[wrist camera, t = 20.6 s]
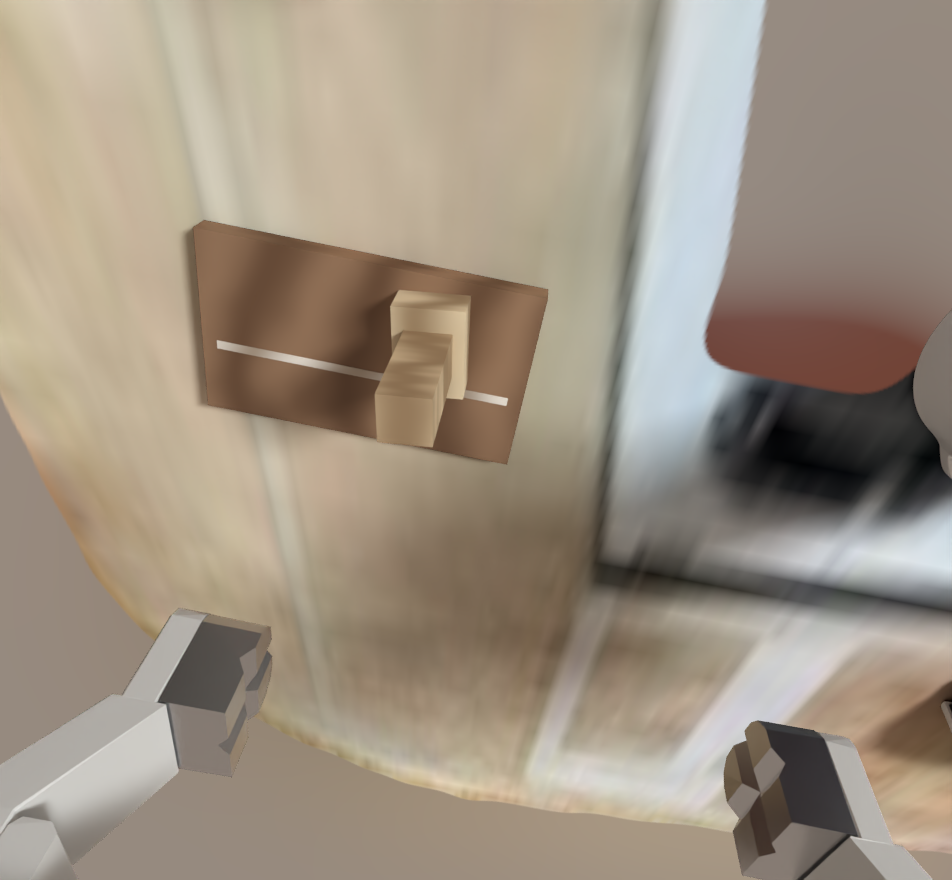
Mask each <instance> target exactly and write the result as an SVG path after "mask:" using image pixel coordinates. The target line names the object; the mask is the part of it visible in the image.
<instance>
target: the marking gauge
mask: <svg viewBox="0 0 952 880" xmlns="http://www.w3.org/2000/svg"><path fill="white" fill-rule="evenodd" d="M470 303H471V296H468V295H456V294H443V293H431V292H419V291H406V290H399V291H398V292H397V294H396V296H395V298H394V300H393V302H392V304H391V306H390V311H391V339H392V357H391V359H390V361H389V363H388V366H387V368H386V370H385V372H384V374H383V377H382V379H381V381H380V383H379V385H378V388H377V390H376V392H375V410H376V429H377V442H382V443H392V444H403V445H413V446H424V447H433V444H434V440H435V437H436V433H437V430H438V426H439V422H440V419H441V415H442V412H443V408H444V404H445V401H446V398H450V399H461V400H463V397H464V393H465V389H466V385H467V380H468V355H469V329H470Z"/></svg>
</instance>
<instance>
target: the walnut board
mask: <svg viewBox="0 0 952 880" xmlns="http://www.w3.org/2000/svg"><path fill="white" fill-rule="evenodd" d="M193 232H194V244H195V256H196V267H197V279H198V291H199V303H200V315H201V327H202V338H203V350H204V362H205V374H206V386H207V398H208V405H211V406H216V407H221V408H226V409H231V410H236V411H241V412H246V413H251V414H256V415H261V416H266V417H271V418H276V419H281V420H286V421H291V422H296V423H301V424H306V425H311V426H316V427H321V428H326V429H331V430H336V431H341V432H346V433H352V434H357V435H362V436H367V437H372V438H377V429H376V410H375V392H376V390H377V388H378V385H379V383H380V381H381V379H382V377H383V374H384V372H385V370H386V368H387V366H388V363H389V361H390V359H391V357H392V339H391V311H390V306H391V304H392V302H393V300H394V298H395V296H396V294H397V292H398V291H399V290H406V291H419V292H431V293H443V294H456V295H468V296H471V303H470V329H469V355H468V380H467V385H466V389H465V393H464V397H463V400H461V399H450V398H446V401H445V404H444V408H443V412H442V415H441V419H440V422H439V426H438V430H437V433H436V437H435V440H434V444H433V447H424V446H417V447H422V448H427V449H432V450H437V451H442V452H447V453H452V454H457V455H462V456H467V457H472V458H477V459H482V460H487V461H492V462H497V463H502V464H507V462H508V458H509V454H510V450H511V446H512V442H513V438H514V434H515V430H516V426H517V422H518V418H519V414H520V410H521V406H522V401H523V397H524V393H525V389H526V385H527V381H528V377H529V373H530V369H531V365H532V361H533V357H534V353H535V349H536V345H537V340H538V336H539V332H540V328H541V324H542V320H543V316H544V312H545V308H546V304H547V300H548V289H543V288H538V287H533V286H528V285H523V284H518V283H513V282H508V281H503V280H498V279H494V278H489V277H484V276H479V275H474V274H469V273H464V272H459V271H454V270H449V269H444V268H439V267H434V266H429V265H424V264H419V263H414V262H409V261H404V260H399V259H394V258H389V257H384V256H379V255H374V254H369V253H364V252H359V251H355V250H350V249H345V248H340V247H335V246H330V245H325V244H320V243H315V242H310V241H305V240H300V239H295V238H290V237H285V236H280V235H275V234H270V233H265V232H260V231H255V230H250V229H245V228H240V227H235V226H230V225H225V224H221V223H216V222H211V221H206V220H204V221H202V222H201V223H199V224H198V225H196V226H195V227H193ZM412 446H413V445H412Z"/></svg>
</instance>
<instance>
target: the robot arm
mask: <svg viewBox="0 0 952 880" xmlns="http://www.w3.org/2000/svg"><path fill="white" fill-rule="evenodd" d="M913 395H914V401H915V405H916V409H917V411H918V414H919V416H920V418H921V419H922V421H923V422H924V424H925V425H926V426H927V428H928V429H929V430H930V431H931V432H932V434H933V435H934V436H935V437H936V439H937V440H938V442H939V445H940V459H941V465H942V469H943V470H944V472H945V473H946V474H947V475H948V476H949V477H950V478H951V479H952V310H951V311H950V312H949V313H948V314H947V315H946V316H945V317H944V319H943V320H942V321H941V322H940V323H939V325H938V326H937V327H936V329H935V330H934V332H933V333H932V335H931V336H930V338H929V340H928V341H927V343H926V344H925V347H924V349H923V350H922V353H921V355H920V358H919V360H918V363H917V366H916V370H915V375H914V382H913ZM271 640H272V638H271V627H269V626H264V625H259V624H255V623H250V622H245V621H240V620H235V619H231V618H226V617H221V616H216V615H211V614H208V613H203V612H198V611H193V610H187V609H182V608H178V609H177V610H176V611H175V612H174V613H173V614H172V615H171V616H170V617H169V619H168V620H167V622H166V624H165V625H164V627H163V629H162V630H161V632H160V633H159V635H158V637H157V638H156V640H155V642H154V643H153V645H152V646H151V648H150V650H149V651H148V653H147V655H146V656H145V658H144V659H143V661H142V663H141V664H140V666H139V668H138V669H137V671H136V672H135V674H134V676H133V677H132V679H131V680H130V682H129V684H128V685H127V687H126V689H125V690H124V692H123V694H122V695H117V694H111V695H110V696H108V697H106V698H105V699H103V700H102V701H100V702H98V703H97V704H95V705H94V706H92V707H91V708H89V709H87V710H86V711H84V712H83V713H81V714H79V715H78V716H77V717H75V718H73V719H72V720H70V721H68V722H67V723H65V724H64V725H62V726H61V727H59V728H57V729H56V730H54V731H53V732H51V733H50V734H48V735H46V736H45V737H43V738H42V739H40V740H39V741H37V742H35V743H34V744H32V745H31V746H29V747H28V748H26V749H25V750H23V751H21V752H20V753H18V754H16V755H15V756H13V757H12V758H10V759H9V760H7V761H6V762H4V763H2V764H1V765H0V880H79V878H78V876H77V874H76V872H75V870H74V868H73V865H74V864H75V863H76V862H77V861H78V860H80V859H81V858H82V857H83V856H84V855H85V854H86V853H87V852H89V851H90V850H91V849H92V848H93V847H94V846H95V845H97V844H98V843H99V842H100V841H101V840H102V839H103V838H105V837H106V836H107V835H108V834H109V833H110V832H111V831H112V830H114V829H115V828H116V827H117V826H118V825H119V824H120V823H122V822H123V821H124V820H125V819H126V818H127V817H128V816H129V815H131V814H132V813H133V812H134V811H135V810H136V809H137V808H139V807H140V806H141V805H142V804H143V803H144V802H145V801H146V800H148V799H149V798H150V797H151V796H152V795H153V794H154V793H155V792H156V791H158V790H159V789H160V788H161V787H162V786H163V785H164V784H166V783H167V782H168V781H169V780H170V779H171V778H172V777H174V776H175V775H176V774H177V773H178V772H179V770H178V768H179V769H185V770H192V771H198V772H204V773H210V774H216V775H222V776H228V777H232V775H233V773H234V771H235V768H236V766H237V763H238V761H239V759H240V756H241V754H242V752H243V749H244V747H245V744H246V742H247V740H248V722H247V721H248V720H249V719H250V718H252V717H253V716H254V715H256V714H257V713H258V712H259V711H260V708H261V706H262V703H263V700H264V698H265V695H266V692H267V688H268V685H269V681H270V677H271V670H272V655H271V654H270V653H269V652H268V651H267V649H268V647H269V644H270V642H271ZM745 735H746V740H747V741H744V742H742V743H739V744H736V745H734V746H733V748H732V749H731V751H730V752H729V754H728V756H727V758H726V763H725V768H724V789H725V794H726V799H727V803H728V804H729V806H730V807H731V808H732V810H733V811H734V812H735V814H736V815H737V816H738V818H739V820H738V822H737V824H736V826H735V828H734V830H733V834H734V838H735V844H736V849H737V853H738V858H739V863H740V868H741V872H742V875H744V876H749V877H753V878H757V879H762V880H933V879H932V878H931V877H930V876H929V875H928V874H927V873H926V872H925V870H924V869H923V868H922V867H921V866H920V865H919V864H918V863H917V861H916V860H915V859H914V858H913V857H912V856H911V855H910V854H909V853H908V851H907V850H906V849H905V848H904V847H903V846H900V845H896V844H893V841H892V839H891V836H890V834H889V831H888V829H887V826H886V824H885V821H884V818H883V816H882V813H881V811H880V808H879V806H878V803H877V801H876V798H875V795H874V793H873V790H872V788H871V785H870V783H869V780H868V778H867V775H866V772H865V770H864V767H863V765H862V762H861V760H860V757H859V754H858V752H857V749H856V747H855V745H854V744H853V743H852V742H851V740H850V739H848V738H846V737H843V736H837V735H832V734H826V733H820V732H815V731H814V730H809V729H803V728H798V727H792V726H786V725H781V724H775V723H769V722H764V721H755V722H751V723H750V724H749V726H748V727H747V728H746V730H745Z"/></svg>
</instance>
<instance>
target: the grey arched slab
mask: <svg viewBox="0 0 952 880" xmlns="http://www.w3.org/2000/svg"><path fill="white" fill-rule="evenodd" d="M941 708H942V711H943V713H944V715H945V718H946V720H947V723H948V725H949V727H950V730H951V732H952V702H946V701H944V702H943V703H942V704H941Z"/></svg>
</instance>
